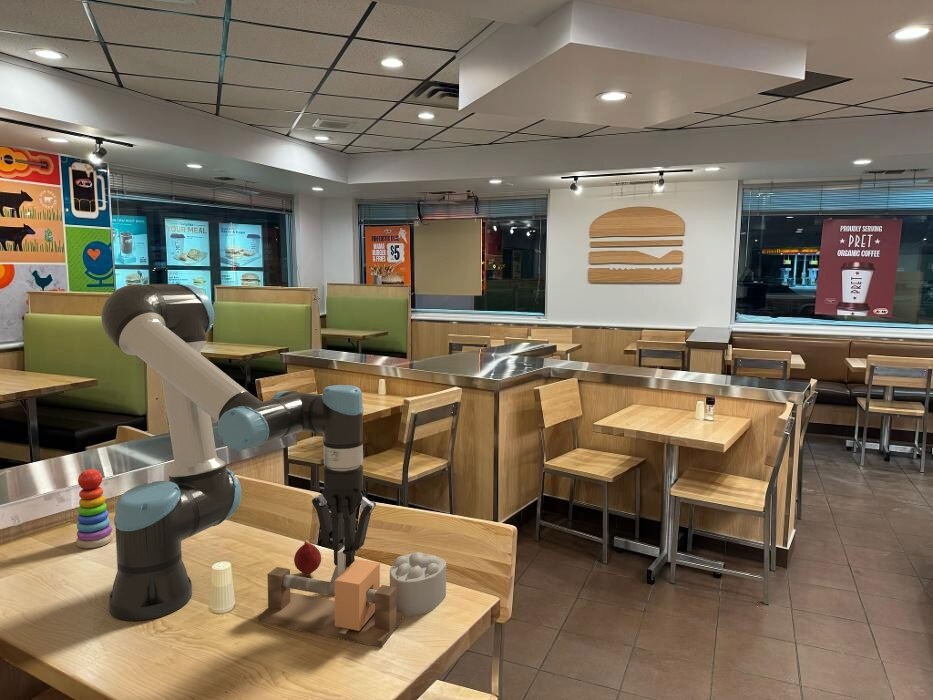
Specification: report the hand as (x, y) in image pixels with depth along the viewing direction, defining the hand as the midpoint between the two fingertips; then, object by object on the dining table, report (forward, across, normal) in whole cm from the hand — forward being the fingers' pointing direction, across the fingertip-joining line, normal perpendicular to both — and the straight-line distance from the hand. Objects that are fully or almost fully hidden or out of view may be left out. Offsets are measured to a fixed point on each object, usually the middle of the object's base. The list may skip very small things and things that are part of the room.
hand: (344, 580), depth 123 cm
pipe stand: (+7, -1, -3) cm, 8 cm away
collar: (+5, +5, -3) cm, 7 cm away
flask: (+7, -5, +11) cm, 14 cm away
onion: (+7, -15, +12) cm, 20 cm away
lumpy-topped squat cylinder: (+7, +12, +9) cm, 16 cm away
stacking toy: (+6, -73, +10) cm, 74 cm away
